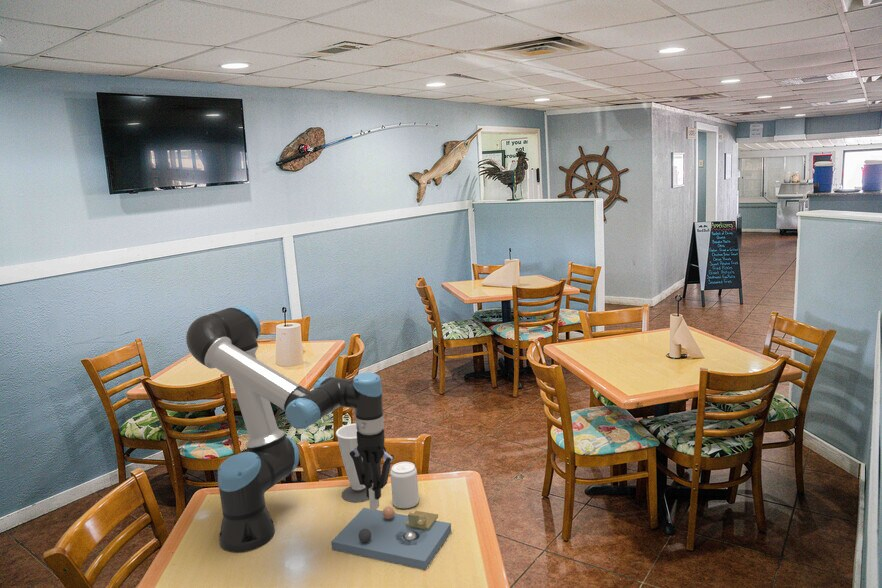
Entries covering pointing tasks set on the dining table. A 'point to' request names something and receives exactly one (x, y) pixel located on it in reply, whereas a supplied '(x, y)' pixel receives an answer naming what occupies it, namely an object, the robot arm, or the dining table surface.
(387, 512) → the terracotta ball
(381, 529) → the grey flat board
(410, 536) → the steel ball
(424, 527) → the brass cover
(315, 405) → the robot arm
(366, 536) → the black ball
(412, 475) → the beverage can
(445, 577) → the dining table surface
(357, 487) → the cup
